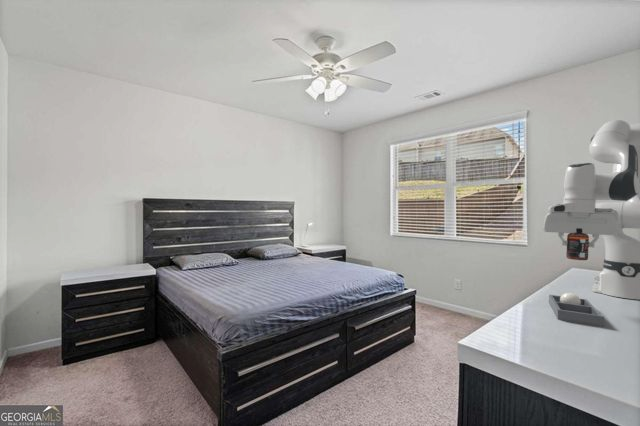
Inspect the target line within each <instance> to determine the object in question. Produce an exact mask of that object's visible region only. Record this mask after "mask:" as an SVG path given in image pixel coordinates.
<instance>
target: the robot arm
mask: <svg viewBox="0 0 640 426" xmlns="http://www.w3.org/2000/svg"><path fill="white" fill-rule="evenodd" d="M588 147H589V148H588V152H589V155H590V156H591V158H593V159H594V160H595V161H596V162H600V163H602V164H613V165H612V171H611V172H610V173H609V172H607V173H597V174H596V167H595V163H591V162H586V163H585V162H584V163H576V164H570V165H568V166H567V167H566V169H565V174H564V179H563V190H564V196H563V200H562V201H563V202H562V203H558V204H555V205H551V206H549V207H547V212H548V213H547V214H546V215H545V216H544V220H543V225H542V230H543V231H544V232H545V233H555V234H556V233H557V236H558V238H559V239H560V241H561V246H565V247H567V243H568V241H567V240H565V239H564V236H565V234H570V233H576V228H582V231H583V232H582V233H584V234H587V235H592V236H591V237H592V238H593V239H592V240H591V241H589V247H588V248H595V243H597V241H598V240H599V239H600V236H601V237H602V239H603V243H604V248H605V249H604V250H605V251H604V252H605V253H604V254H605V255H604V256H605V259H603V265H602V266H603V269H602V270H601V271H600V273H599V274H597V275H594V281H596V283H593V284H592V289H591V290H592V292H594V293H599V294H603V295H607V296H611V297H617V298H623V299H631V300H640V240H638V239H636V238H635V237H631V236H629V235H627V234H626V233H624V231H623V229H634V230H635V229H637V230H640V122H637V123H628V122H627V121H624V120H620V119H613V120H609V121H607V122H605V123H603V125H601V127H599V129H598V130H597V132H596V133H595V134H594V135H593V136H592V137H591V138H590V143H589V146H588ZM596 201H602V202H596Z"/></svg>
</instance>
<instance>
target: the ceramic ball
mask: <svg viewBox="0 0 640 426" xmlns="http://www.w3.org/2000/svg"><path fill="white" fill-rule="evenodd" d="M560 296H561V297H560V302H562V303H569V304H577V305H581V300H580V299H581V297H579V296H578V295H577V294H575V293H572V292H565V293H563V294H562V295H560Z"/></svg>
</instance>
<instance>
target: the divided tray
mask: <svg viewBox="0 0 640 426" xmlns="http://www.w3.org/2000/svg"><path fill="white" fill-rule="evenodd" d="M561 296H562V295H555V294H548V304H549V306H550V308H551V310H552V312H553V313H554V315H555V317H556V320H558V321H565V322H569V323H570V322H572V323H576V324H577V323H578V324H582V325H589V326H595V327H602V328H604V316H603V314H601V312H599V311H598V309H597V308H595V306H594V305H593V304H592V303H591V302H590V301H589V300H588V299H587V298H580V300H581V305H577V304H569V303H562V302H560V297H561Z"/></svg>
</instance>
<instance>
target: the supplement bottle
mask: <svg viewBox="0 0 640 426" xmlns="http://www.w3.org/2000/svg"><path fill="white" fill-rule="evenodd" d="M582 232H583V231H582V228H576V233H567V236H566V241H568V243H567V246H566V258H567V259H569V260H573V261H574V260H575V261H588V259H589V248H590V247H589V242H590V237H589V236H590V235H589V234H584V233H582Z"/></svg>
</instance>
